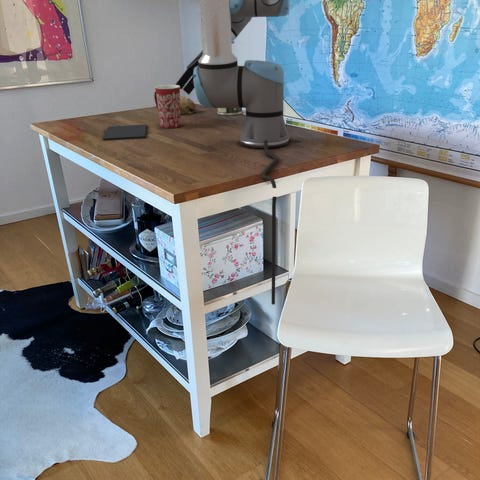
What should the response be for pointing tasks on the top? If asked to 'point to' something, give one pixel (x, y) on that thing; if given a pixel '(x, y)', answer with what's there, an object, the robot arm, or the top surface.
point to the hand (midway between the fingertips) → (181, 89)
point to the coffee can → (229, 111)
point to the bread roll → (186, 106)
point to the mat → (125, 132)
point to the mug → (168, 105)
